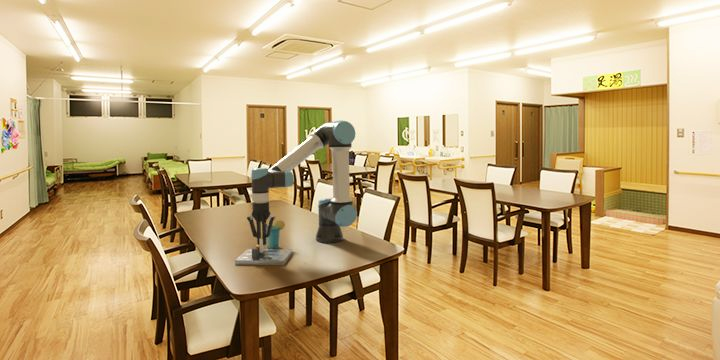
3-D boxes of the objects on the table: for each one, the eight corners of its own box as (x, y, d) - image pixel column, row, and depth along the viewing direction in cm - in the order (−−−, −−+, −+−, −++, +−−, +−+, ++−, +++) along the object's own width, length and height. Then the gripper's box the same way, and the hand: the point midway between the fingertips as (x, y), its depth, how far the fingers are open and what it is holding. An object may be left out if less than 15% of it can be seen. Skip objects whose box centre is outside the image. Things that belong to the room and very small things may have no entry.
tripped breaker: (261, 252, 187) (261, 244, 187) (259, 254, 185) (259, 245, 184) (257, 252, 187) (257, 244, 187) (255, 254, 185) (255, 245, 185)
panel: (292, 253, 195) (292, 240, 194) (283, 265, 177) (283, 251, 176) (248, 252, 196) (247, 240, 195) (235, 264, 178) (234, 250, 177)
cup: (258, 250, 199) (257, 221, 197) (256, 247, 206) (255, 218, 205) (286, 248, 204) (285, 219, 203) (283, 244, 211) (282, 216, 210)
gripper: (276, 200, 187) (277, 249, 189) (249, 200, 187) (250, 249, 190) (272, 203, 179) (273, 254, 182) (244, 202, 180) (245, 253, 182)
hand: (262, 251), depth 186 cm, fingers closed
